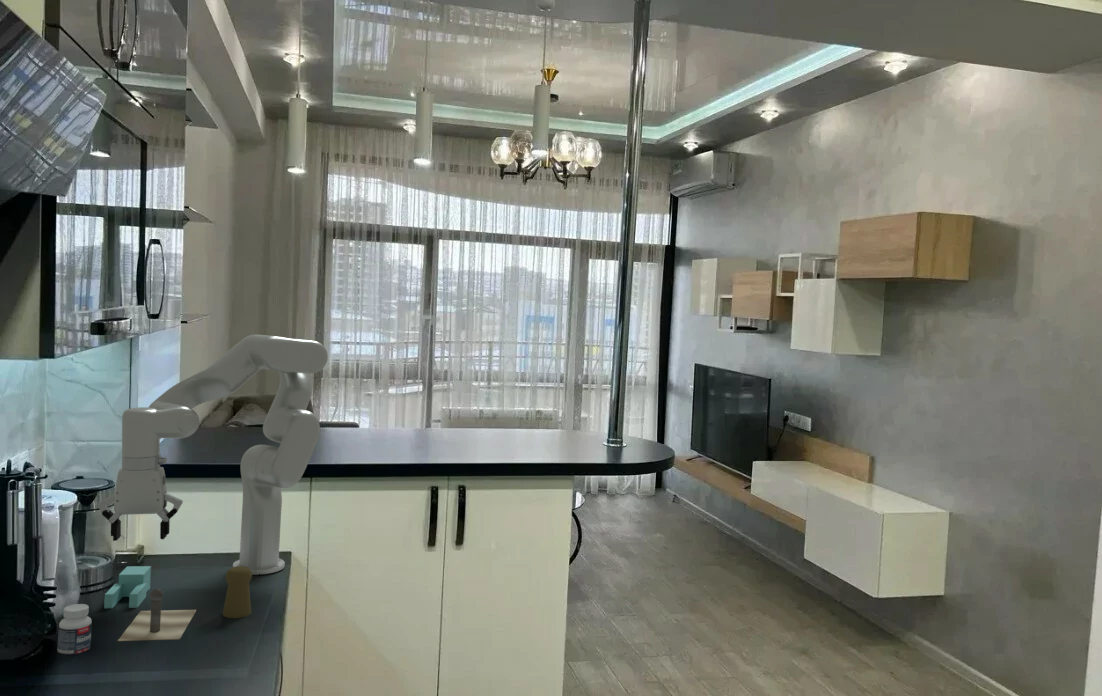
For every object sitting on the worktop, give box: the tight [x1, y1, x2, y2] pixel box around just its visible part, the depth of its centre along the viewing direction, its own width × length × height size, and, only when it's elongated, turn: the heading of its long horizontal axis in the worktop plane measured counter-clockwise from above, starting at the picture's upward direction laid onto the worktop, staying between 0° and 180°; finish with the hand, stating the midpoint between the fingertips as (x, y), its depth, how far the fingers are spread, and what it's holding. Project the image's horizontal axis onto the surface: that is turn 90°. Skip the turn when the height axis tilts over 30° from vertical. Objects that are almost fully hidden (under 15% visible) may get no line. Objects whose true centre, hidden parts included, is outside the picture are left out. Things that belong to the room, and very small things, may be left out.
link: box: [103, 565, 152, 609], centre depth 174 cm, size 13×6×6 cm, turn 13°
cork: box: [222, 566, 253, 619], centre depth 169 cm, size 6×6×11 cm
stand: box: [117, 588, 197, 642], centre depth 160 cm, size 16×11×10 cm
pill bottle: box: [56, 603, 93, 655], centre depth 147 cm, size 5×5×9 cm
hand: (140, 538), depth 178 cm, fingers open, 9 cm apart
